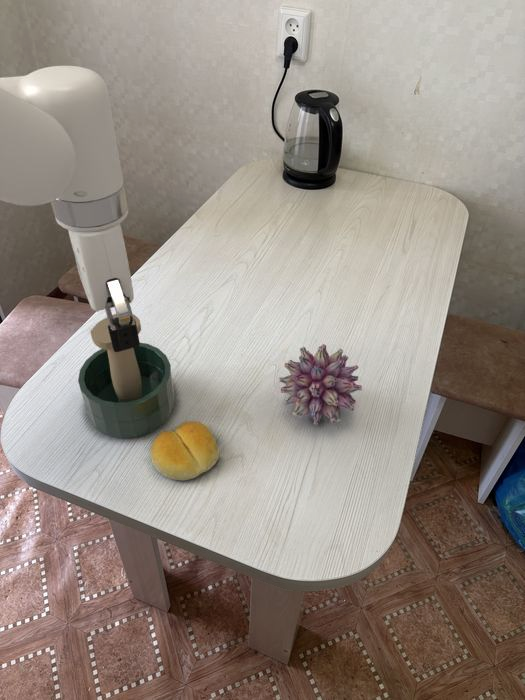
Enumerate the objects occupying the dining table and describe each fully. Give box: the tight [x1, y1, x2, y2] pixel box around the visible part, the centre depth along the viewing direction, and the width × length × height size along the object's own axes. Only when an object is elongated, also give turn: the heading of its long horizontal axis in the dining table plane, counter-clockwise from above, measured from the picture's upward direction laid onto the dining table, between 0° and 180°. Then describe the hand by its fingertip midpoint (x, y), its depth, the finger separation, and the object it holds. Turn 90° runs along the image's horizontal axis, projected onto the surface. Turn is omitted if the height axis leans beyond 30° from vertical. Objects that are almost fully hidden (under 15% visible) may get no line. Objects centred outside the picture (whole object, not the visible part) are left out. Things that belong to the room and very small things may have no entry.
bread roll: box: [150, 420, 220, 481], centre depth 68 cm, size 8×9×4 cm
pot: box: [77, 342, 175, 439], centre depth 73 cm, size 13×13×7 cm
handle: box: [90, 313, 142, 402], centre depth 70 cm, size 5×6×15 cm
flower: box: [278, 343, 363, 427], centre depth 73 cm, size 12×12×12 cm
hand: (117, 323), depth 65 cm, fingers open, 9 cm apart
